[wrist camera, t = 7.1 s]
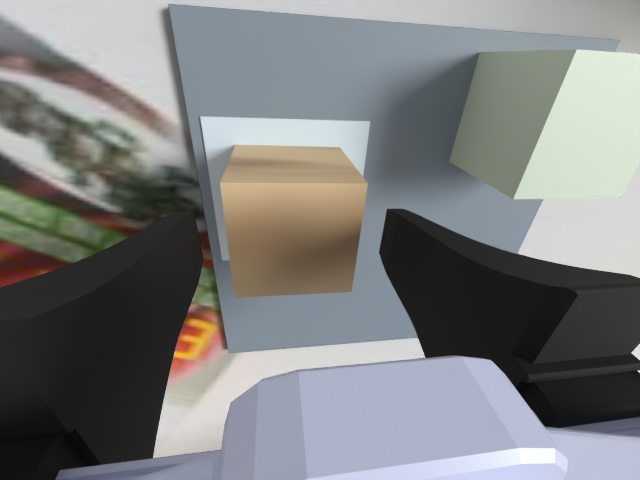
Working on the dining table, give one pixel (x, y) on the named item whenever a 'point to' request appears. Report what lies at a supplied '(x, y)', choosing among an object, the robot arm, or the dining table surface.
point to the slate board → (344, 144)
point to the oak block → (292, 219)
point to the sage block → (552, 123)
